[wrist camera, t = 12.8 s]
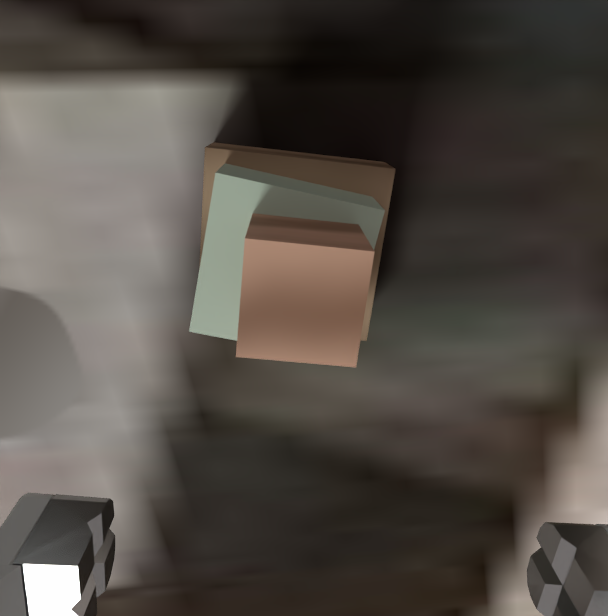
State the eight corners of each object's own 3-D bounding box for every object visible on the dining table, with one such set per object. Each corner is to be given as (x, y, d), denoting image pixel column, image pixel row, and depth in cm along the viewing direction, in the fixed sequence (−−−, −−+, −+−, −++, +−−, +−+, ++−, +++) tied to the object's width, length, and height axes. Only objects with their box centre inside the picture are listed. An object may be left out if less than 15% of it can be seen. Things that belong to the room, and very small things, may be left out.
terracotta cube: (252, 213, 25) (244, 238, 21) (358, 224, 26) (374, 251, 21) (244, 312, 27) (235, 356, 22) (344, 321, 27) (355, 367, 23)
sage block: (225, 163, 28) (215, 172, 24) (372, 196, 29) (384, 210, 25) (201, 303, 31) (189, 331, 27) (336, 330, 32) (343, 361, 28)
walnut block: (214, 141, 32) (205, 147, 28) (383, 161, 32) (395, 168, 29) (206, 301, 35) (196, 325, 31) (358, 315, 36) (366, 340, 32)
